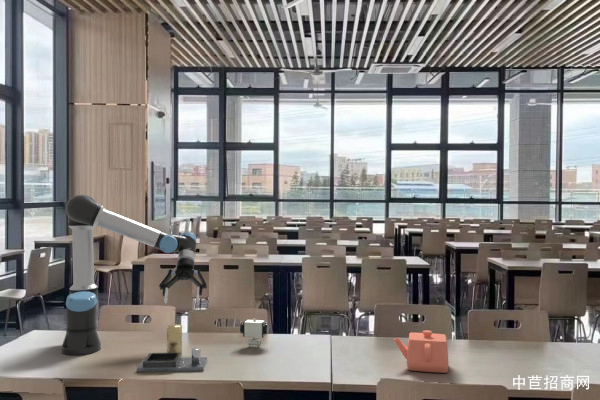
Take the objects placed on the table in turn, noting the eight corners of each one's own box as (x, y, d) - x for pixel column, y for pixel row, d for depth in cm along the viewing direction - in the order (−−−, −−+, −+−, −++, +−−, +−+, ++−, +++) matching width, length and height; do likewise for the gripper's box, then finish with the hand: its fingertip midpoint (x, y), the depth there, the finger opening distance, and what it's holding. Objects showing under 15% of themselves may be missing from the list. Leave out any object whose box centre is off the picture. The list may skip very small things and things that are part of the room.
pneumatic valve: (266, 348, 226) (266, 320, 226) (239, 347, 228) (239, 319, 228) (269, 345, 231) (269, 317, 231) (243, 344, 233) (243, 316, 233)
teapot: (446, 360, 210) (447, 325, 210) (449, 379, 188) (449, 339, 188) (395, 357, 214) (395, 322, 214) (392, 374, 193) (392, 336, 193)
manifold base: (136, 372, 195) (137, 354, 195) (144, 362, 207) (144, 345, 207) (203, 371, 197) (203, 353, 197) (207, 361, 209) (207, 344, 209)
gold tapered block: (165, 358, 213) (165, 327, 213) (168, 353, 219) (168, 324, 219) (180, 357, 213) (180, 327, 213) (183, 353, 219) (183, 324, 219)
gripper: (214, 266, 246) (211, 305, 232) (159, 267, 245) (153, 307, 230) (213, 256, 241) (210, 295, 226) (156, 257, 239) (150, 297, 225)
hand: (181, 301), depth 228 cm, fingers open, 13 cm apart
